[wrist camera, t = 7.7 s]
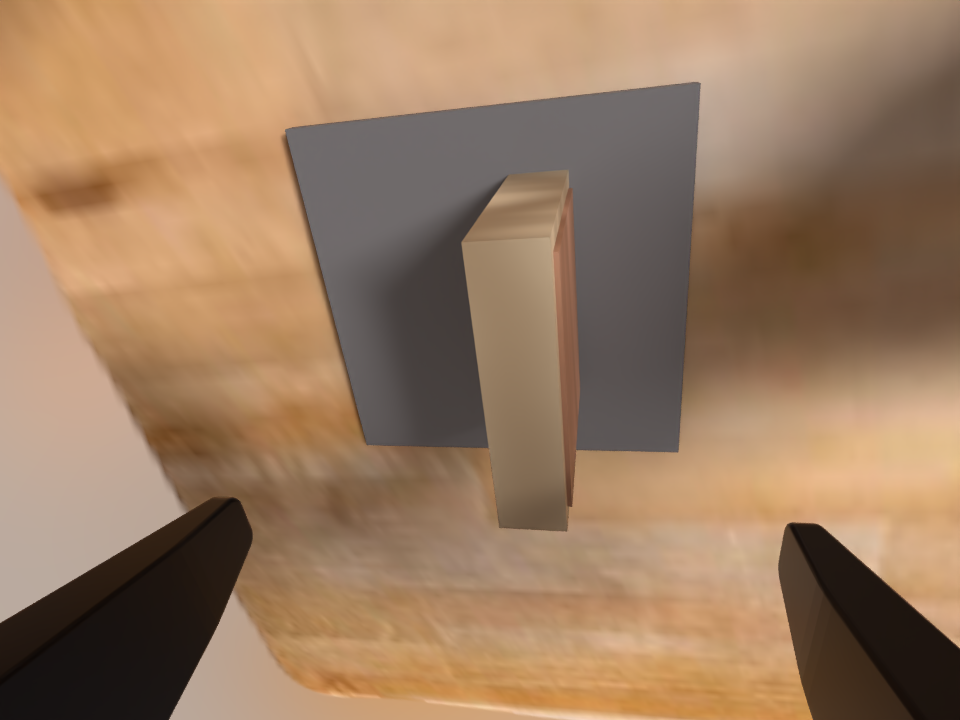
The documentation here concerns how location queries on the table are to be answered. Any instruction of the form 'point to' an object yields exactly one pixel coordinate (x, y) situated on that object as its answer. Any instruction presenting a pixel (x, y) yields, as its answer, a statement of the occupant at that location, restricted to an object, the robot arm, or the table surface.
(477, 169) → the mat
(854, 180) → the table surface
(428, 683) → the table surface
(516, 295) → the picture frame
